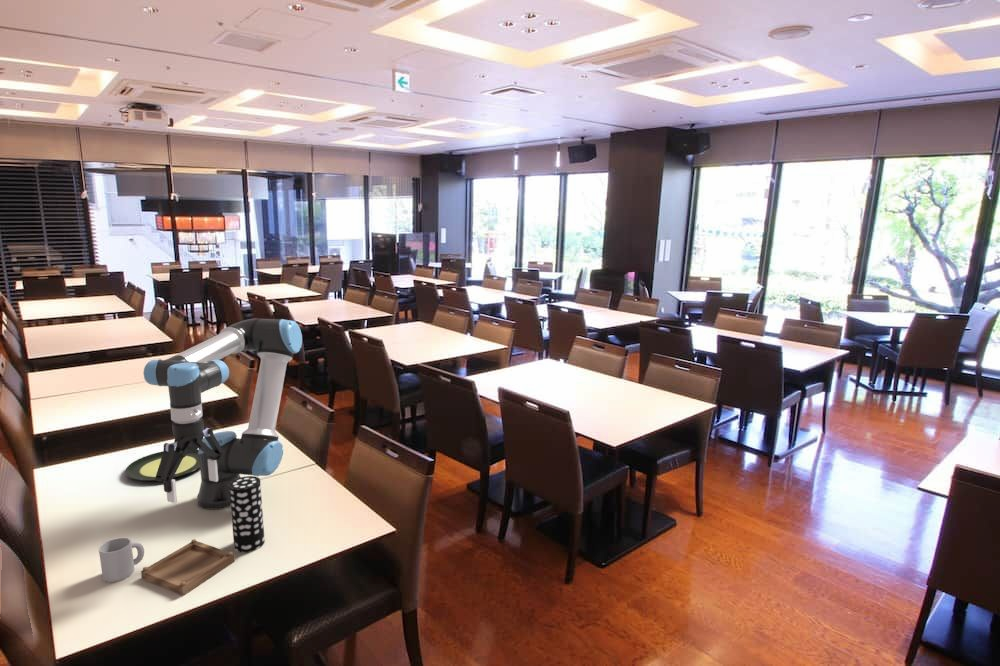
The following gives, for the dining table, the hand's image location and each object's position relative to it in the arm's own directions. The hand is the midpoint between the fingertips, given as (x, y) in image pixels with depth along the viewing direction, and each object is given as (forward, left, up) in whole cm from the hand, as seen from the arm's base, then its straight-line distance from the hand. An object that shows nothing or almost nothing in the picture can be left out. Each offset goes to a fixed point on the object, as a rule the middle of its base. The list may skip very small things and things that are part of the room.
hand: (193, 490), depth 156 cm
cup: (-11, -14, -20) cm, 27 cm away
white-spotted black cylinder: (+9, +10, -20) cm, 24 cm away
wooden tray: (+4, -6, -20) cm, 21 cm away
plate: (-59, +34, -21) cm, 71 cm away
